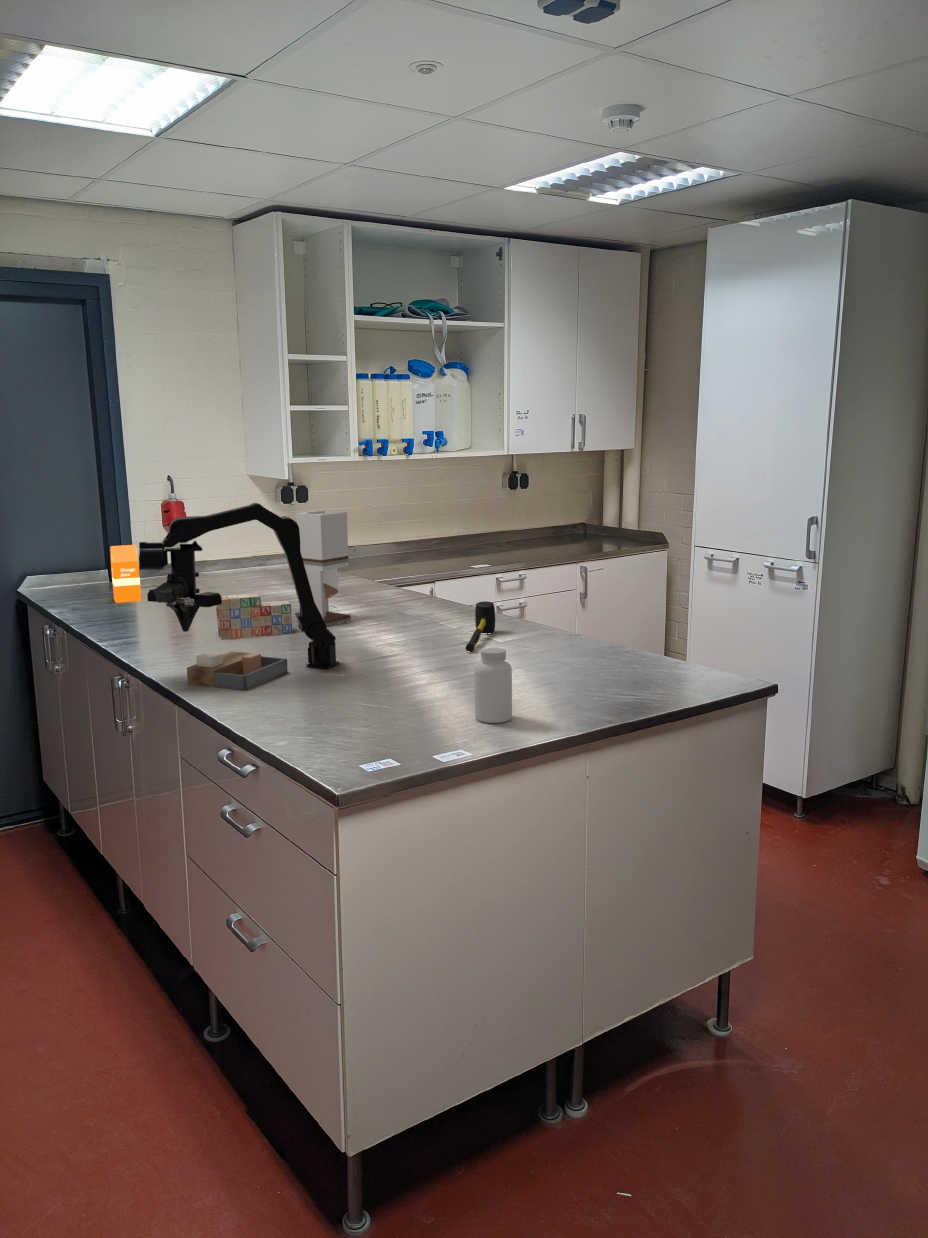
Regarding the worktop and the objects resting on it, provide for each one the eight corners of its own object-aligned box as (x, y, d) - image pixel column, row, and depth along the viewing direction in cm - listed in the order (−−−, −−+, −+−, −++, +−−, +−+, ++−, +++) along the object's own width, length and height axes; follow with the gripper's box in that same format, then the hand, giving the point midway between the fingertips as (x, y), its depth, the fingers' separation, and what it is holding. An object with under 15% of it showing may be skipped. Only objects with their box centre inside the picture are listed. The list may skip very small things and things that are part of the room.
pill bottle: (510, 712, 206) (510, 645, 203) (513, 724, 198) (513, 654, 195) (474, 713, 206) (473, 646, 203) (475, 724, 198) (475, 655, 195)
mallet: (480, 654, 258) (480, 620, 257) (459, 653, 260) (458, 619, 258) (496, 631, 287) (496, 600, 285) (477, 631, 288) (477, 600, 286)
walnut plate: (258, 668, 245) (257, 653, 244) (214, 686, 228) (213, 670, 228) (232, 666, 248) (231, 651, 247) (187, 683, 232) (186, 667, 231)
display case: (325, 627, 294) (320, 514, 287) (301, 623, 300) (296, 513, 293) (350, 621, 303) (346, 511, 296) (327, 617, 309) (322, 510, 302)
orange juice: (113, 599, 345) (109, 545, 341) (139, 597, 349) (134, 543, 345) (115, 602, 338) (111, 547, 334) (141, 600, 342) (137, 545, 338)
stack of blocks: (288, 629, 292) (286, 590, 289) (292, 633, 286) (290, 593, 284) (218, 636, 284) (215, 595, 282) (220, 640, 278) (218, 599, 276)
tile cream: (223, 663, 235) (222, 653, 234) (211, 667, 231) (211, 657, 230) (208, 661, 236) (207, 652, 236) (196, 665, 232) (196, 656, 232)
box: (287, 672, 241) (286, 658, 241) (245, 690, 225) (244, 676, 224) (258, 668, 245) (257, 655, 244) (214, 686, 228) (213, 672, 228)
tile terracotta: (253, 670, 242) (261, 671, 241) (242, 674, 238) (251, 675, 237) (252, 653, 241) (260, 653, 240) (241, 657, 237) (250, 657, 236)
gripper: (130, 570, 228) (133, 633, 231) (192, 576, 221) (195, 641, 224) (161, 564, 238) (164, 625, 241) (222, 570, 231) (224, 632, 234)
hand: (185, 631), depth 235 cm, fingers closed
